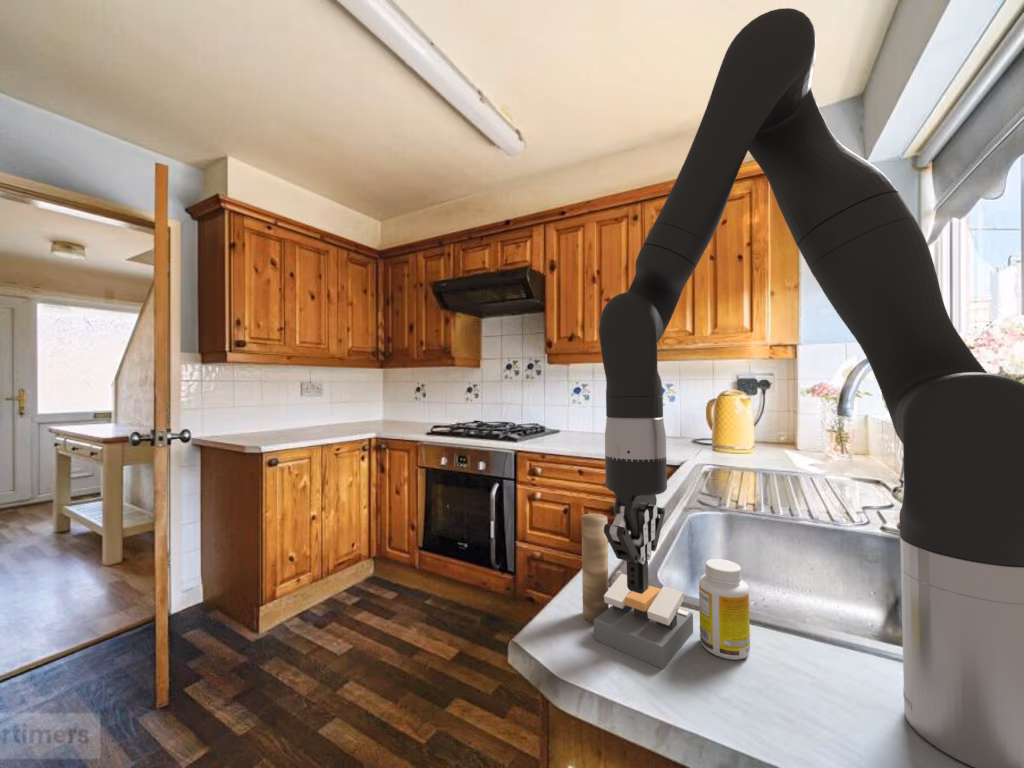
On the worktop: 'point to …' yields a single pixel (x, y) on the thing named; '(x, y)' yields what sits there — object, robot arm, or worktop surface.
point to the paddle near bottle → (665, 605)
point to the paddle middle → (642, 598)
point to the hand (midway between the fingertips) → (637, 589)
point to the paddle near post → (618, 592)
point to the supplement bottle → (724, 610)
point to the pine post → (594, 565)
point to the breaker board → (643, 633)
